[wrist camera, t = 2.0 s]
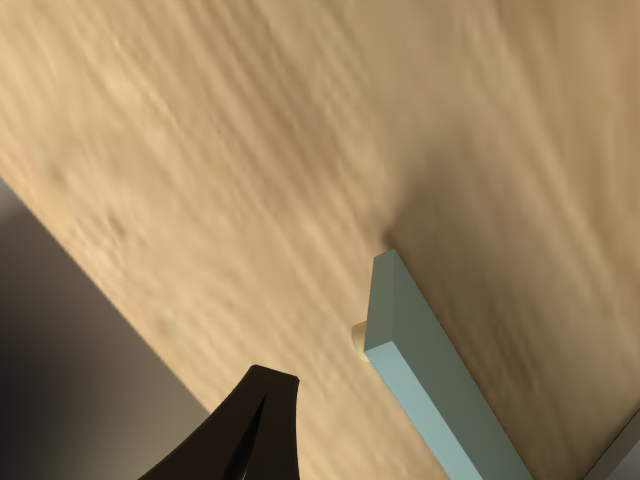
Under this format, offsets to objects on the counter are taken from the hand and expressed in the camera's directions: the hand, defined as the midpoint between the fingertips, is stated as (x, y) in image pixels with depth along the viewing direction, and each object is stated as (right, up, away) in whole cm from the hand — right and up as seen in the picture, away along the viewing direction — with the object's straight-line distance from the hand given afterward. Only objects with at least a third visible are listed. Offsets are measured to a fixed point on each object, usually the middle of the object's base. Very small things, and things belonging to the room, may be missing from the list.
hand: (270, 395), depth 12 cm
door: (+7, -2, +5) cm, 9 cm away
